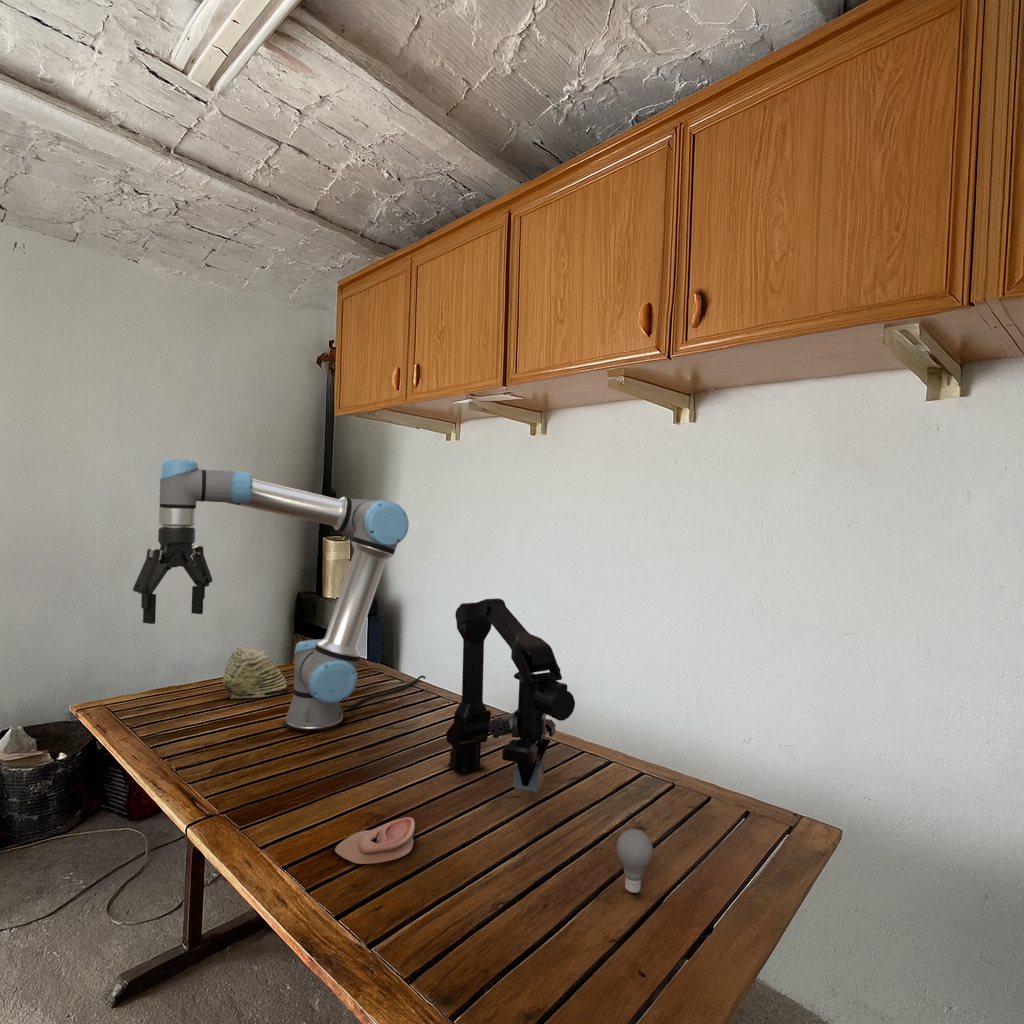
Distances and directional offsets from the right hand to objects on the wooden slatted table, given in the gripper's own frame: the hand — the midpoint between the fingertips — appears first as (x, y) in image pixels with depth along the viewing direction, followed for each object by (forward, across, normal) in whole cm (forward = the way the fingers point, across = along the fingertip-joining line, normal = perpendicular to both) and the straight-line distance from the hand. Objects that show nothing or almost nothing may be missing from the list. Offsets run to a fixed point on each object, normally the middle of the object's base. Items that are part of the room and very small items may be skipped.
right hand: (528, 780), depth 130 cm
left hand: (-26, +9, -84) cm, 89 cm away
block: (+1, 0, 0) cm, 1 cm away
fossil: (+7, -39, -101) cm, 108 cm away
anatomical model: (+7, +23, -22) cm, 32 cm away
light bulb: (+7, +18, +24) cm, 31 cm away
